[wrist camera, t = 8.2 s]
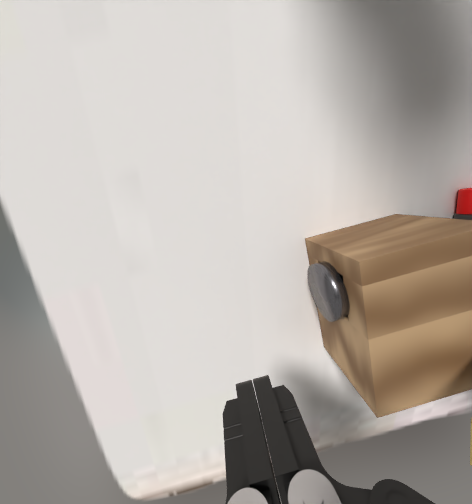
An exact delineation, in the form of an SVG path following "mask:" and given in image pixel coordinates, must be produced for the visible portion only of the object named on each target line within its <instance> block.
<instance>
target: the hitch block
mask: <svg viewBox="0 0 472 504" xmlns="http://www.w3.org/2000/svg"><path fill="white" fill-rule="evenodd" d="M305 241H306V247H307V253H308V258H309V264H310V265H312V264H315V263H319V262H323V261H326V262H328V263H330V264H331V265H332V266H333V267H334V268H335V269H336V270H337V272H338V273H340V274H342V275H343V281H344V285H345V288H346V290H347V294H348V298H349V304H350V310H349V315H348V316H347V317H346V318H344V319H340V320H337V321H333V322H330V321H328V320H326V319H325V318H324V316H323V315H322V314H321V312H320V311H319V309H318V308H317V310H318V315H319V321H320V327H321V332H322V338H323V344H324V347H325V349H326V350H327V351H328V353H329V354H330V355H331V357H332V358H333V359H334V361H335V362H336V363H337V365H338V366H339V367H340V369H341V370H342V371H343V373H344V374H345V375H346V377H347V378H348V379H349V381H350V382H351V383H352V385H353V386H354V387H355V389H356V390H357V391H358V393H359V394H360V395H361V397H362V398H363V399H364V401H365V402H366V403H367V405H368V406H369V407H370V409H371V410H372V411H373V413H374V414H375V415H376V417H377V418H379V417H382V416H385V415H389V414H392V413H395V412H398V411H402V410H405V409H408V408H412V407H415V406H418V405H421V404H425V403H428V402H431V401H435V400H438V399H441V398H444V397H448V396H451V395H454V394H458V393H461V392H464V391H467V390H471V389H472V220H462V219H450V218H438V217H425V216H413V215H401V214H395V215H391V216H387V217H384V218H380V219H376V220H372V221H369V222H365V223H361V224H358V225H354V226H350V227H346V228H343V229H339V230H335V231H332V232H328V233H324V234H320V235H317V236H313V237H309V238H306V239H305Z"/></svg>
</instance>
